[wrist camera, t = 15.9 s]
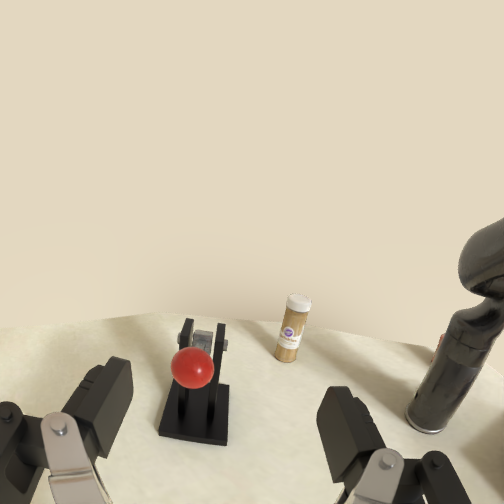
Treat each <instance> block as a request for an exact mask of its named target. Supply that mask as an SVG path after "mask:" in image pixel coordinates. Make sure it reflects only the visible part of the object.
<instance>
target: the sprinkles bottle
mask: <svg viewBox="0 0 504 504" xmlns="http://www.w3.org/2000/svg"><path fill="white" fill-rule="evenodd" d="M311 303H312V301H311V299H310V298H309V297H307V296H305V295H301V294H290V295H289V296H288V299H287V303H286V307H287V308H286V312H285V315H284V319H283V323H282V327H281V330H280V334H279V338H278V344H277V348H276V351H275V353H274V354H275V357H276V358H277V359H278V360H280V361H283V362H292V361H294V360H295V359H296V354H297V350H298V347H299V345H300V341H301V338H302V334H303V331H304V327H305V322H306V318H307V315H308V312H309V310H310V307H311Z"/></svg>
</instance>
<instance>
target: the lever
mask: <svg viewBox="0 0 504 504" xmlns="http://www.w3.org/2000/svg"><path fill="white" fill-rule="evenodd" d="M212 338H213V332H209V331H203V330H196V331H195V332H194V334H193V342H192V347H186V348H183V349H181V350H179V351H178V352H177V353H176V354H175V355H174V357H173V359H172V361H171V372H172V375H173V377H174V379H175V380H176V381H177V382H178V383H179V384H180V385H182V386H183V387H186V388H189V389H198V388H201V387H203V386H205V385H206V384H208V383H209V382H210V380H211V379H212V377H213V374H214V363H213V360H212V359H211V357H210V353H211V346H212Z"/></svg>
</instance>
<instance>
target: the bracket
mask: <svg viewBox="0 0 504 504" xmlns="http://www.w3.org/2000/svg"><path fill="white" fill-rule="evenodd" d="M193 325H194V319H189V318H186V320H185V323H184V326H183V328H182V331H181V333H179V334H178V339H177V343H178V344H179V350H181V349H183V348H186V347H192V337H193ZM225 326H226V324H222V323H218V325H217V331H216V338H215V346H214V354H213V363H214V374H213V377H212V379H211V380H210V382H209V383H208V384H206V385H205V386H203V387H201V388H198V389H189V388H186V387H183V386H182V385H180V384H179V383H178V382H177V381H176V380H175V379H173V382H172V385H171V389H170V392H169V395H168V399H167V402H166V405H165V409H164V412H163V416H162V419H161V423H160V426H159V430H158V431H159V436H164V437H169V438H174V439H179V440H185V441H191V442H197V443H204V444H212V445H221V446H227V438H228V407H229V385H225V384H218V382H219V375H220V368H221V360H222V353H223V351H227V346H228V340H224V337H225Z"/></svg>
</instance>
